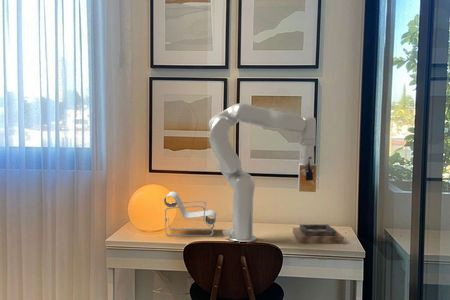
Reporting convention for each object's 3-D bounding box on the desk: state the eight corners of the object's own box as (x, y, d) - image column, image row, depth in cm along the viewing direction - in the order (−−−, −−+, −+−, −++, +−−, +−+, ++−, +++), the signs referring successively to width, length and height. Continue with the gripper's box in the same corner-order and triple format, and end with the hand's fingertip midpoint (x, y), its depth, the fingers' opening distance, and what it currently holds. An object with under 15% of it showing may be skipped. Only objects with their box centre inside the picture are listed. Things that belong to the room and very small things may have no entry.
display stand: (300, 243, 201) (300, 232, 201) (292, 233, 219) (292, 223, 219) (343, 243, 202) (343, 232, 202) (332, 233, 220) (332, 223, 220)
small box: (298, 191, 211) (299, 164, 210) (298, 189, 217) (298, 163, 216) (316, 192, 210) (316, 165, 209) (315, 190, 216) (315, 163, 215)
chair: (167, 229, 226) (167, 191, 225) (216, 229, 226) (216, 191, 225) (163, 235, 213) (163, 195, 211) (215, 236, 213) (215, 196, 212)
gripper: (295, 141, 220) (295, 177, 221) (304, 143, 203) (304, 181, 204) (310, 141, 221) (310, 177, 222) (320, 143, 203) (319, 181, 205)
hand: (307, 179), depth 213 cm, fingers closed on small box, 7 cm apart
